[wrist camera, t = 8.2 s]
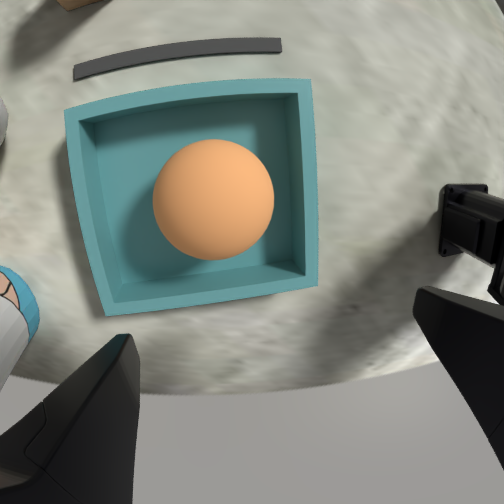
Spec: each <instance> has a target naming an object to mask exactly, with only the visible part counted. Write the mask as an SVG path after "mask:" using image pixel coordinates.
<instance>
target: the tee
mask: <svg viewBox="0 0 504 504" xmlns="http://www.w3.org/2000/svg"><path fill="white" fill-rule="evenodd" d="M56 1H57V2H58V3H59V4H60V5H61V6H62V7H64V8H65V9H66V10H67V11H70V10H73V9H75V8H78V7H82V6H85V5H88V4H91V3H95V2H98V1H102V0H56Z"/></svg>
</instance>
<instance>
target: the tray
mask: <svg viewBox="0 0 504 504" xmlns="http://www.w3.org/2000/svg"><path fill="white" fill-rule="evenodd" d="M64 117H65V129H66V140H67V149H68V157H69V165H70V172H71V179H72V185H73V191H74V196H75V202H76V207H77V212H78V217H79V222H80V226H81V231H82V235H83V239H84V244H85V248H86V252H87V256H88V259H89V263H90V267H91V270H92V274H93V277H94V281H95V284H96V287H97V291H98V294H99V297H100V300H101V303H102V306H103V309H104V312H105V315H106V316H113V315H122V314H131V313H140V312H149V311H157V310H165V309H173V308H180V307H188V306H195V305H202V304H210V303H216V302H223V301H230V300H237V299H243V298H249V297H256V296H262V295H268V294H274V293H280V292H286V291H292V290H298V289H303V288H309V287H314V286H318V189H317V162H316V142H315V125H314V111H313V98H312V87H311V79H290V78H268V79H238V80H223V81H211V82H200V83H191V84H183V85H175V86H169V87H162V88H156V89H150V90H144V91H139V92H134V93H129V94H124V95H119V96H115V97H110V98H106V99H102V100H98V101H94V102H90V103H87V104H83V105H79V106H76V107H72V108H69V109H66V110H64ZM208 139H219V140H226V141H230V142H233V143H236V144H239V145H241V146H243V147H244V148H246V149H248V150H249V151H251V152H252V153H253V154H254V155H255V156H256V157H257V158H258V159H259V160H260V161H261V162H262V164H263V165H264V166H265V168H266V170H267V172H268V174H269V176H270V179H271V182H272V186H273V190H274V208H273V212H272V217H271V220H270V222H269V224H268V227H267V229H266V230H265V232H264V233H263V235H262V236H261V237H260V239H259V240H258V241H257V242H256V243H255V244H254V245H252V246H251V247H250V248H249V249H248V250H246V251H244V252H243V253H241V254H238V255H236V256H234V257H231V258H228V259H223V260H203V259H198V258H195V257H192V256H189V255H187V254H185V253H183V252H181V251H180V250H178V249H177V248H175V247H174V246H173V245H172V244H171V243H170V242H169V241H168V240H167V239H166V237H165V236H164V235H163V233H162V232H161V230H160V228H159V226H158V224H157V222H156V219H155V215H154V210H153V190H154V185H155V182H156V179H157V177H158V174H159V173H160V171H161V169H162V167H163V166H164V164H165V163H166V162H167V161H168V160H169V158H170V157H171V156H172V155H174V154H175V153H176V152H177V151H179V150H180V149H182V148H183V147H185V146H187V145H189V144H192V143H195V142H198V141H202V140H208Z"/></svg>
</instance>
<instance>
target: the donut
mask: <svg viewBox="0 0 504 504" xmlns="http://www.w3.org/2000/svg"><path fill="white" fill-rule="evenodd" d="M7 125H8V112H7V109H6V106H5V104H4V102H3V100H2V99H1V97H0V146H1V144H2V142H3V140H4V138H5V135H6V130H7Z"/></svg>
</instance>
